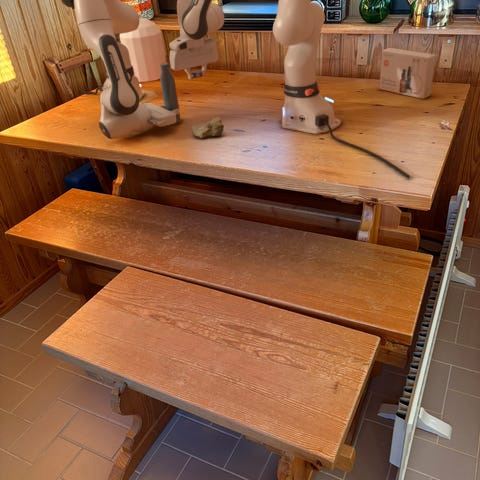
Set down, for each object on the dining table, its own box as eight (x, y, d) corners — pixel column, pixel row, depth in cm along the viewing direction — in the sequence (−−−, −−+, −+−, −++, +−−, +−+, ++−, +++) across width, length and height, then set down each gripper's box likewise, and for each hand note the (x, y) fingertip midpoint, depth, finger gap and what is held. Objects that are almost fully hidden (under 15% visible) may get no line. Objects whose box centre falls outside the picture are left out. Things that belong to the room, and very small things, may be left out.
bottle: (172, 119, 186) (163, 61, 174) (184, 120, 184) (174, 62, 171) (164, 123, 182) (154, 65, 170) (175, 125, 180) (166, 66, 167)
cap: (189, 77, 186) (188, 72, 184) (196, 74, 188) (195, 69, 187) (197, 78, 183) (196, 73, 182) (204, 75, 186) (203, 70, 185)
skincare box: (377, 89, 194) (381, 50, 185) (385, 86, 197) (389, 47, 188) (423, 99, 180) (429, 56, 171) (430, 95, 183) (437, 53, 174)
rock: (192, 135, 173) (196, 140, 164) (189, 118, 170) (194, 122, 161) (220, 130, 175) (226, 135, 166) (218, 113, 172) (223, 117, 163)
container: (160, 81, 233) (149, 21, 217) (121, 82, 238) (108, 23, 222) (174, 69, 249) (165, 13, 233) (138, 70, 254) (126, 15, 238)
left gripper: (154, 116, 165) (186, 106, 172) (129, 104, 179) (160, 95, 186) (157, 133, 169) (189, 122, 175) (132, 120, 183) (162, 110, 189)
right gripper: (211, 34, 185) (214, 70, 192) (165, 44, 176) (171, 81, 184) (219, 37, 180) (222, 73, 188) (172, 47, 171) (178, 84, 179)
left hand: (174, 108), depth 181 cm, fingers closed on bottle, 5 cm apart
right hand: (196, 77), depth 186 cm, fingers closed on cap, 4 cm apart
